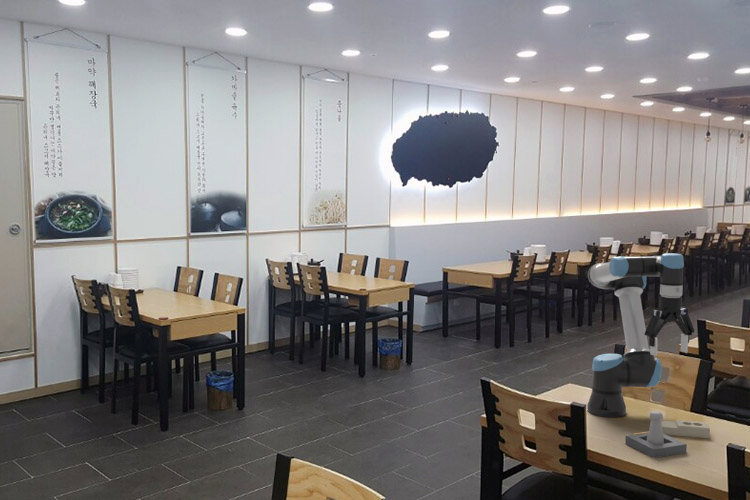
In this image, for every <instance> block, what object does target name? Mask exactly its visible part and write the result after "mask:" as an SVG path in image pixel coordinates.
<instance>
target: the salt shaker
mask: <svg viewBox="0 0 750 500" xmlns="http://www.w3.org/2000/svg"><path fill="white" fill-rule="evenodd" d="M649 418H650V422H649V423H650V424H649V428H648V431H649V432H648V431H647V432H648V436H647V442H649V443H651V444H653V445H659V444H664V438H663V431H662V424H661V421H663V418H664V415H663V413H662V412H661V411H658V410H651V411H650V412H649Z"/></svg>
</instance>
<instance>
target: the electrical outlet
mask: <svg viewBox="0 0 750 500" xmlns="http://www.w3.org/2000/svg"><path fill="white" fill-rule="evenodd" d="M661 424H662V431H663V434H665V435H668V436H680V437H681V436H682V437H689V438H690V437H692V438H704V439H711V438H710V436H711V428H710V427H709V425H708V423H707V422H705V421H704V422H703V421H695V420H682V419H676V420H675V421H669V420H661Z"/></svg>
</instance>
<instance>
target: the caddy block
mask: <svg viewBox="0 0 750 500" xmlns="http://www.w3.org/2000/svg"><path fill="white" fill-rule="evenodd" d="M648 432H649V430H648V431H642V432H636V433H635V432H634V433H632V434H628V435H627V434H626V435H625V445H628V446H629V447H631V448H633V449H635V450H637V451H639V452H640V453H643V454H645V455H647V456H648V457H651V458H653V459H654V458H655V459H656V458H657V459H658V458H662V457H668V456H674V455H675V456H676V455H681V454H685V453H687V447H688V446H687V445H688V443H686V442H683V441H680V440H679V439H676V438H675V437H672V436H671V435H666V434H663V438H664V444H659V445H653V444H651V443H649V442H647V436H648Z"/></svg>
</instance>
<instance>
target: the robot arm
mask: <svg viewBox="0 0 750 500" xmlns="http://www.w3.org/2000/svg"><path fill="white" fill-rule="evenodd" d="M684 262H685V261H684V255H683V254H681V253H670V252H668V253H667V252H666V253H663V254H661V255H652V256H613V257H611V259H610V261H609V262H599V263H595V264H593V265H591V266H590V268H588V271H587V279H588V281H589V283H591V285H592V286H594V287H595V288H598V289H602V290H613V292H614V296H616V297H617V298H618V300H619V306H620V307H619V308H620V312H621V314H620V315H621V320H622V327H623V333H624V334H623V335H624V340H625V347H626V352H625V353H624V354H623V355H622V354H619V353H603V354H599V355H597V356H595V357H594V358H593V359H592V365H591V370H592V378H591V381H592V383H591V393H590V397H589V400H588V403H586V404H587V406H586V409H588V410H587V412H589V413H590V414H592V413H593V415H595V414H596V415H595V416H601V417H605V418H606V417H607V418H618V417H623V416H626V414H627V407H626V403H625V400H624V397H623V387H624V388H648V387H649V388H651V387H653V388H654V387H655V386H657V385H658V384H659V383H660V380H661V377H662V362H661V361H660V360H661V359H659V358H658V357H657V356H658V341H659V340H658V339H659V338H658V337H657V336H658V335H659V333H660V331H662V329H663V328H664V326H665V325H666V324H667V323H671V322H673V323H676V325H677V327H678V328H679V330H680V331H681V332H682V333H681V334H680V352H682V353H685V354H688V351H689V350H688V348H689V343H690V336H692V335H693V333H695V328H694V325H693V323H692V321H691V319H690V316H689V309H688V308H685V307H683V297H682V296H683V287H684V286H683V285H684V283H683V282H684V267H685V264H684ZM647 277H659V278H660V279H659V280H660V281H659V295H660V296H659V307H660V309H659V310H656V309H653V310H652V315H651V317H650V320H649V322H648V324H647V327H646V324H645V317H644V312H643V306H642V299H641V295H642V294H643V292H644V289H646V286H647V280H648V279H647ZM648 339H649V340H648Z"/></svg>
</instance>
